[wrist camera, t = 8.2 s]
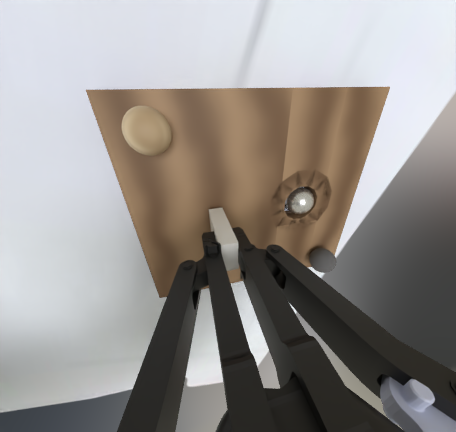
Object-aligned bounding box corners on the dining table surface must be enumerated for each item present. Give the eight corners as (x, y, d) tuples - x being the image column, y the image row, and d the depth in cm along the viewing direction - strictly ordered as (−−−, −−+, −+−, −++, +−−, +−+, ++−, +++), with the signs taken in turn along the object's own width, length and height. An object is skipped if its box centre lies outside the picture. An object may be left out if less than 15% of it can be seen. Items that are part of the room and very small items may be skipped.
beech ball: (136, 154, 15) (124, 160, 12) (123, 108, 14) (105, 103, 11) (176, 151, 16) (173, 157, 13) (168, 107, 14) (163, 102, 11)
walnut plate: (162, 283, 26) (159, 298, 24) (100, 95, 15) (85, 89, 13) (321, 252, 31) (332, 262, 29) (367, 91, 20) (390, 86, 17)
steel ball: (300, 221, 21) (317, 213, 23) (304, 195, 19) (322, 188, 21) (278, 211, 24) (295, 205, 25) (280, 187, 22) (298, 182, 24)
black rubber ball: (302, 262, 27) (317, 280, 24) (306, 245, 25) (322, 261, 22) (321, 259, 28) (338, 275, 25) (326, 241, 26) (345, 256, 23)
